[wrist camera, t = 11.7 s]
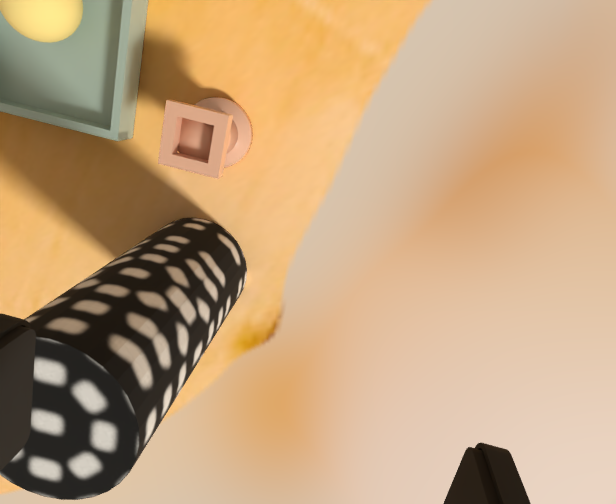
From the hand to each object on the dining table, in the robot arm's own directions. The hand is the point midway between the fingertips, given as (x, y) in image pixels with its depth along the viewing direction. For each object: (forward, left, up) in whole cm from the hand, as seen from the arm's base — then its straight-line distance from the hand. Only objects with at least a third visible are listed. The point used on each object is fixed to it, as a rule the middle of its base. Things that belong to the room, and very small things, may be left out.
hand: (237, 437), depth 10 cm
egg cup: (-2, -9, -28) cm, 30 cm away
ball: (-8, -21, -28) cm, 36 cm away
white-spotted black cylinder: (+9, -9, -28) cm, 31 cm away
